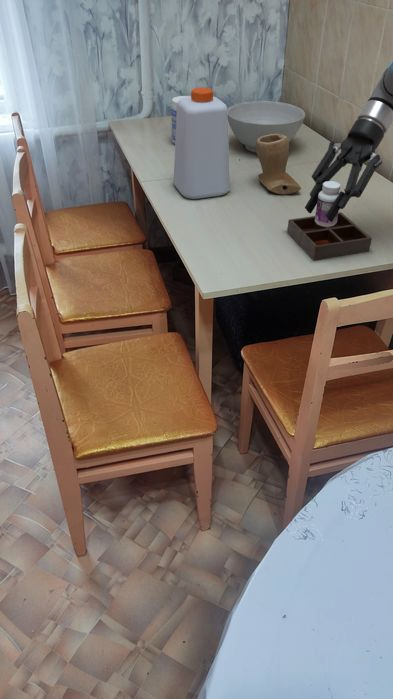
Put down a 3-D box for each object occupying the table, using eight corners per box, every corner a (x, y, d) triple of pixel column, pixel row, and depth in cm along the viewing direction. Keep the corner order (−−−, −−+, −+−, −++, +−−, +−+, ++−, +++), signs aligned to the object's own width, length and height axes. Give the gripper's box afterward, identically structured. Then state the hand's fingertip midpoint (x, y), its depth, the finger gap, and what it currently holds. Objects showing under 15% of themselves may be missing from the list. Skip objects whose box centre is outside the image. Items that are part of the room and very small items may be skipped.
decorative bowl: (303, 138, 201) (308, 103, 193) (297, 164, 181) (301, 127, 173) (232, 132, 206) (234, 98, 198) (218, 157, 185) (219, 120, 178)
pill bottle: (314, 216, 134) (320, 178, 128) (336, 218, 133) (343, 180, 127) (313, 226, 130) (319, 187, 124) (336, 228, 129) (343, 189, 123)
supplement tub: (167, 144, 195) (165, 100, 186) (180, 136, 202) (179, 94, 192) (190, 148, 192) (190, 104, 183) (203, 140, 198) (203, 97, 189)
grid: (368, 251, 136) (371, 238, 134) (313, 260, 132) (315, 247, 130) (338, 224, 147) (341, 212, 145) (287, 232, 144) (288, 219, 141)
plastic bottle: (185, 202, 158) (184, 100, 140) (170, 182, 169) (167, 85, 151) (233, 195, 162) (238, 95, 144) (215, 176, 173) (218, 81, 155)
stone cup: (248, 178, 171) (252, 129, 162) (284, 175, 173) (289, 127, 164) (263, 198, 160) (267, 147, 150) (301, 195, 162) (308, 144, 152)
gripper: (409, 145, 124) (356, 234, 126) (341, 127, 134) (292, 209, 136) (403, 127, 118) (347, 220, 119) (332, 108, 128) (281, 195, 129)
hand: (318, 214), depth 127 cm, fingers closed on pill bottle, 5 cm apart
